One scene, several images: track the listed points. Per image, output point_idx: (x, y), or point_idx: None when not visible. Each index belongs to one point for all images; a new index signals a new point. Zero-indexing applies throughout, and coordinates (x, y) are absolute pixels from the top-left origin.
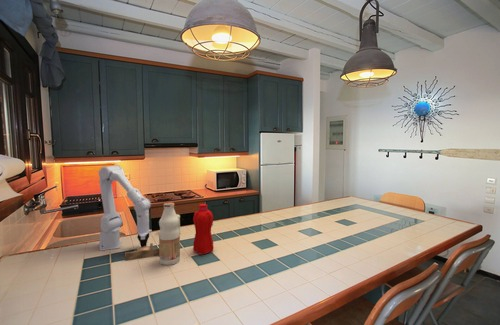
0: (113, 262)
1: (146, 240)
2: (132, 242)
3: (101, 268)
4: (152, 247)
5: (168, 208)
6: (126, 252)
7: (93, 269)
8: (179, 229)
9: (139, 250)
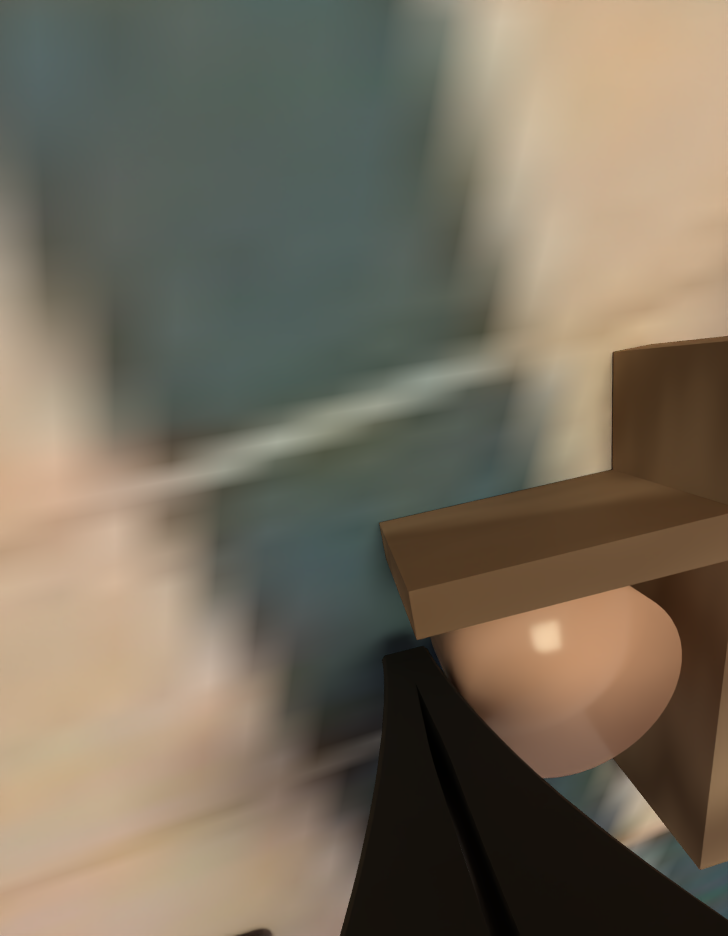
0: (633, 825)
1: (568, 816)
2: (37, 885)
3: None
4: (666, 532)
5: None
6: (706, 858)
7: (706, 896)
8: None
9: (650, 717)
